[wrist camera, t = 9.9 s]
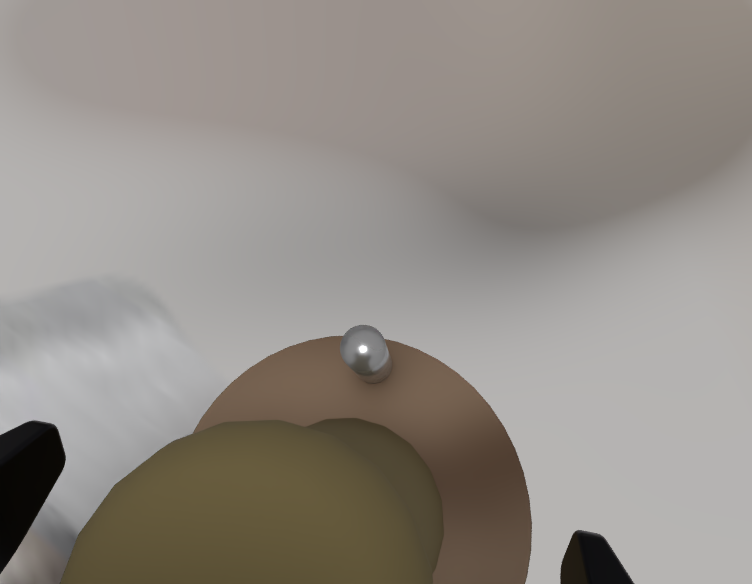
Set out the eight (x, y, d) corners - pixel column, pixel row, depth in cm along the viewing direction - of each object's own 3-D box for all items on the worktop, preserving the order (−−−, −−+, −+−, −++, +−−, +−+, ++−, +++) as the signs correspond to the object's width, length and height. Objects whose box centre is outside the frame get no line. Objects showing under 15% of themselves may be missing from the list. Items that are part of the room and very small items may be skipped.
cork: (209, 571, 17) (-155, 789, 6) (299, 385, 18) (122, 305, 7) (393, 674, 16) (328, 1149, 5) (475, 469, 17) (561, 514, 6)
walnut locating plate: (598, 595, 17) (657, 646, 12) (267, 791, 16) (213, 913, 12) (415, 283, 19) (414, 240, 15) (128, 438, 19) (46, 438, 15)
